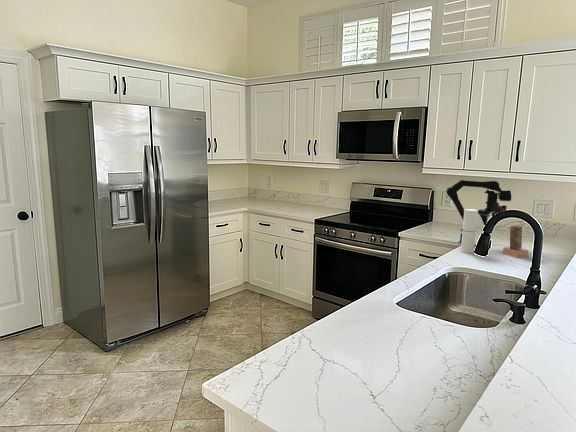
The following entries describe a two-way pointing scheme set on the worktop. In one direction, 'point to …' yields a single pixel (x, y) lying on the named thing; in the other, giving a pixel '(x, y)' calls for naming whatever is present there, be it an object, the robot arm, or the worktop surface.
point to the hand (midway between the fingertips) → (489, 224)
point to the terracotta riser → (515, 252)
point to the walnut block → (516, 237)
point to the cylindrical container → (469, 230)
